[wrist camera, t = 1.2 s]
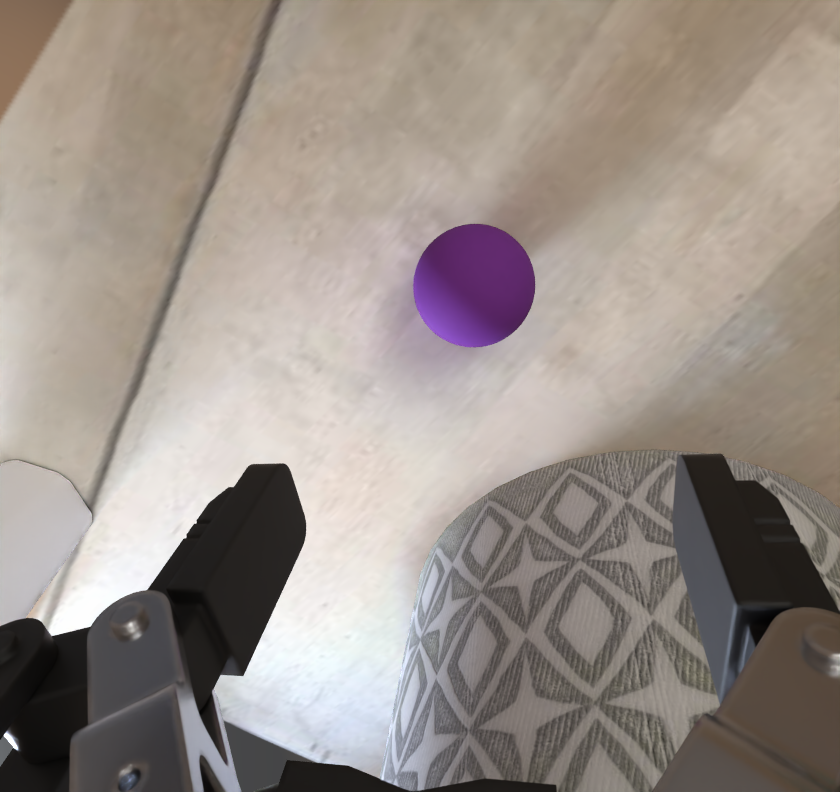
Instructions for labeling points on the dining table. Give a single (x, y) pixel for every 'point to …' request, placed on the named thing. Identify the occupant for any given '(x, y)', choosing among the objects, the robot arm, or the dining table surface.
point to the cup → (35, 533)
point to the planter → (567, 630)
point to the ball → (474, 285)
